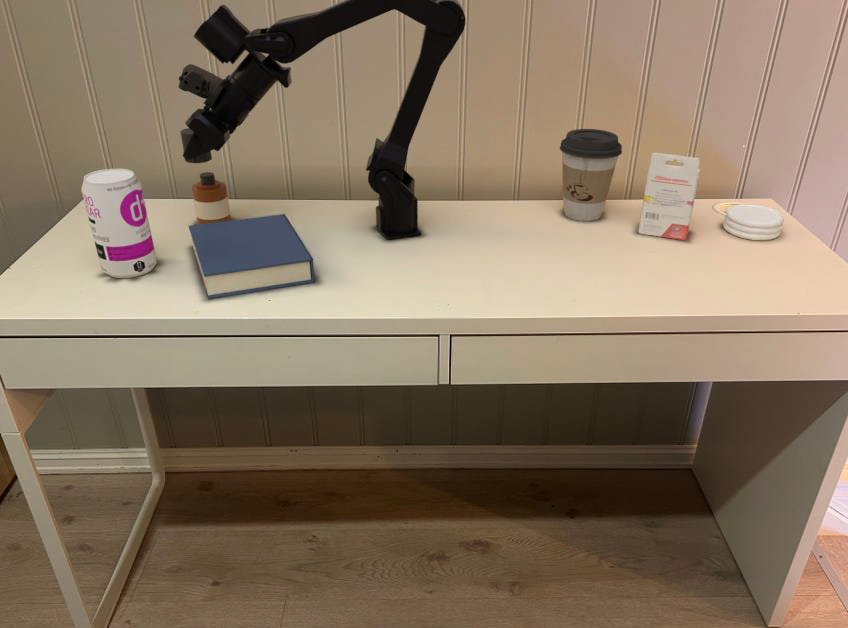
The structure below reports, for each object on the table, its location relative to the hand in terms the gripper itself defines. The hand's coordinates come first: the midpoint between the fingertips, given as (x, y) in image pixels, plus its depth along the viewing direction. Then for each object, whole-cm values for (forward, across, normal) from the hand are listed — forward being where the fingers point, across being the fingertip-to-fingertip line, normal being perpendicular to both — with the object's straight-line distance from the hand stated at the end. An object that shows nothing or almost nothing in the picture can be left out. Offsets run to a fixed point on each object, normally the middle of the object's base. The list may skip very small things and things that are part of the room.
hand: (189, 153), depth 123 cm
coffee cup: (-40, -10, +59) cm, 72 cm away
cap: (0, 0, +2) cm, 2 cm away
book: (+1, +14, +18) cm, 23 cm away
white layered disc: (-61, -2, +80) cm, 101 cm away
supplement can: (+15, +16, +5) cm, 23 cm away
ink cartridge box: (-49, -1, +68) cm, 84 cm away
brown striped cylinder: (+8, -3, +11) cm, 14 cm away
